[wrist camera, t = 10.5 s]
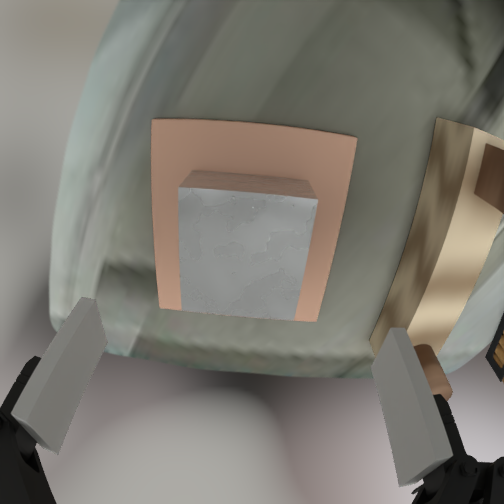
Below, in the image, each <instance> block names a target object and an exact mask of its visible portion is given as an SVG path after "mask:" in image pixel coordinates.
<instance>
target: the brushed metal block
mask: <svg viewBox="0 0 504 504" xmlns="http://www.w3.org/2000/svg"><path fill="white" fill-rule="evenodd" d="M317 204H318V198H317V196H316V194H315V192H314V191H313V189H312V187H311V185H310V183H309V181H308V180H300V179H292V178H283V177H273V176H263V175H252V174H241V173H228V172H215V171H199V170H192V171H191V172H190V173H189V175H188V176H187V177H186V178H185V180H184V181H183V182H182V183H181V184H180V186H179V187H178V229H179V266H180V289H181V307H182V310H183V311H191V312H200V313H210V314H220V315H230V316H242V317H254V318H266V319H281V320H294V318H295V313H296V309H297V304H298V300H299V295H300V291H301V286H302V281H303V276H304V272H305V267H306V262H307V257H308V252H309V247H310V242H311V236H312V231H313V226H314V220H315V215H316V209H317Z"/></svg>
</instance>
